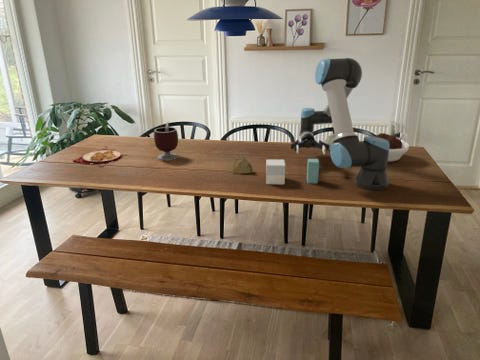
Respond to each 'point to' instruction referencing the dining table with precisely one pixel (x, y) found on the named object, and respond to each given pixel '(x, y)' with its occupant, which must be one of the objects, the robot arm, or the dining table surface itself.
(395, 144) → the white shallow bowl
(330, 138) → the decorative shell
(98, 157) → the plate with food
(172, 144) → the mate gourd
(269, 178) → the tower base
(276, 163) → the tower top
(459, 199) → the dining table surface
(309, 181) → the teal post
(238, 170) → the rock
